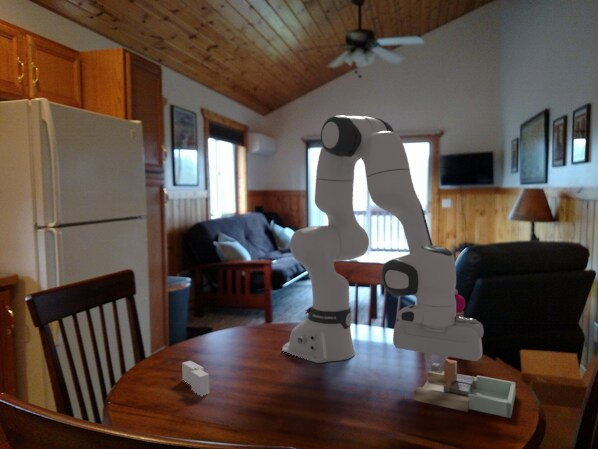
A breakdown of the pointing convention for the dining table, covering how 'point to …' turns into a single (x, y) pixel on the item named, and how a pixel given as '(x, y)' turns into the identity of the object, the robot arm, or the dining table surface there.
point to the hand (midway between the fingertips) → (436, 371)
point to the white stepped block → (196, 377)
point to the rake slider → (449, 373)
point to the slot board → (441, 393)
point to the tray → (493, 396)
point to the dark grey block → (466, 381)
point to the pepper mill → (458, 309)
